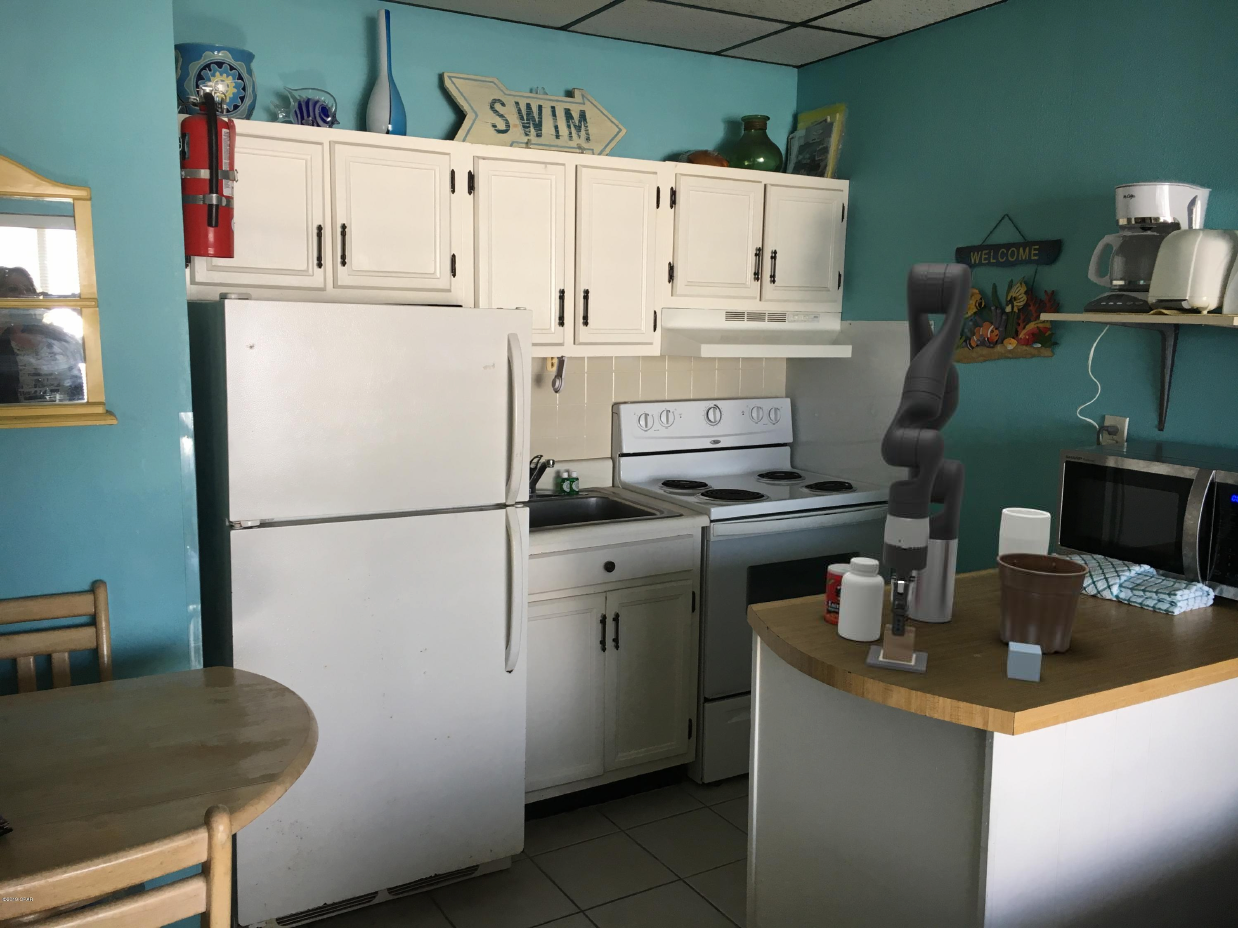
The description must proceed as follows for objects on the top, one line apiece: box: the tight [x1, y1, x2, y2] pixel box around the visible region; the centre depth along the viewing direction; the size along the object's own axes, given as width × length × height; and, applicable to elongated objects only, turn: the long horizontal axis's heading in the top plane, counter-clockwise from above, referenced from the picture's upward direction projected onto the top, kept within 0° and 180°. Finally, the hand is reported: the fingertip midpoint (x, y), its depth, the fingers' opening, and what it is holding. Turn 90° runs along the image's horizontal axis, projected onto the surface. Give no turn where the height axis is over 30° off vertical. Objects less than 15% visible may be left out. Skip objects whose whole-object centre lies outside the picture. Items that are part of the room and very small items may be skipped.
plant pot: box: [996, 553, 1090, 654], centre depth 187 cm, size 16×16×16 cm
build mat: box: [865, 645, 929, 675], centre depth 175 cm, size 10×10×1 cm
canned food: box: [824, 563, 851, 626], centre depth 198 cm, size 8×8×11 cm
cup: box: [998, 507, 1052, 556], centre depth 210 cm, size 10×10×22 cm
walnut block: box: [882, 624, 916, 663], centre depth 175 cm, size 5×5×5 cm
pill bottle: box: [837, 557, 885, 642], centre depth 188 cm, size 8×8×15 cm
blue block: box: [1006, 642, 1043, 683], centre depth 170 cm, size 5×5×5 cm
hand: (899, 628), depth 175 cm, fingers open, 8 cm apart
